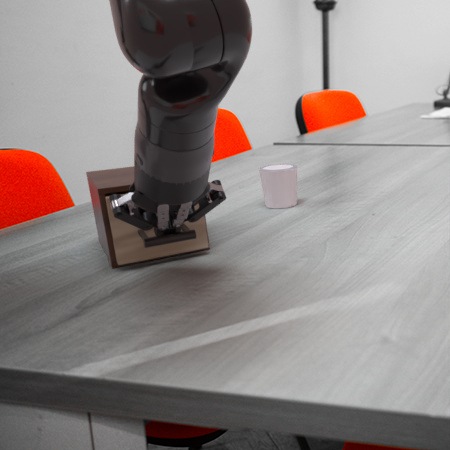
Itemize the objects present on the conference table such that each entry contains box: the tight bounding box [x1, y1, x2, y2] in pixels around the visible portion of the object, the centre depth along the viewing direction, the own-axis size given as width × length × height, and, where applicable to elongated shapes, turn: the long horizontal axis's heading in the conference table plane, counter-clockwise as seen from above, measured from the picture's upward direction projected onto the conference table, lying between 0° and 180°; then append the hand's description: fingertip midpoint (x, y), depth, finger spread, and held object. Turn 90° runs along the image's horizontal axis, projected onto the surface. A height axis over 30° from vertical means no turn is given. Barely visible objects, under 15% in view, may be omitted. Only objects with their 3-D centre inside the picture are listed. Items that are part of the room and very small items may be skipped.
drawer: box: [105, 191, 210, 265], centre depth 77 cm, size 20×11×9 cm, turn 33°
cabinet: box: [85, 165, 211, 269], centre depth 82 cm, size 15×13×11 cm
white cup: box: [258, 163, 298, 210], centre depth 103 cm, size 7×7×7 cm
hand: (166, 236), depth 72 cm, fingers closed
